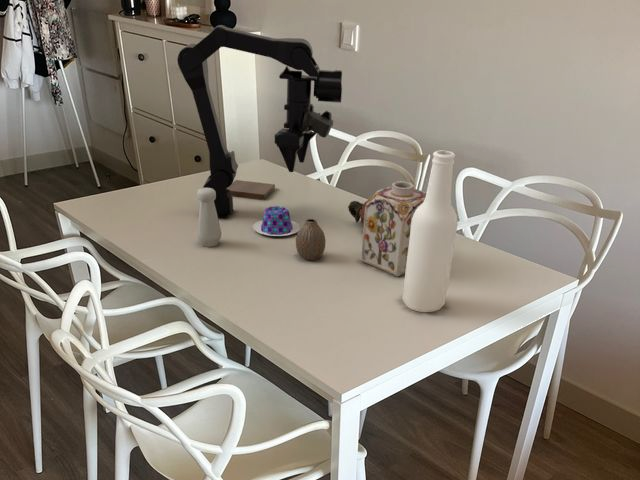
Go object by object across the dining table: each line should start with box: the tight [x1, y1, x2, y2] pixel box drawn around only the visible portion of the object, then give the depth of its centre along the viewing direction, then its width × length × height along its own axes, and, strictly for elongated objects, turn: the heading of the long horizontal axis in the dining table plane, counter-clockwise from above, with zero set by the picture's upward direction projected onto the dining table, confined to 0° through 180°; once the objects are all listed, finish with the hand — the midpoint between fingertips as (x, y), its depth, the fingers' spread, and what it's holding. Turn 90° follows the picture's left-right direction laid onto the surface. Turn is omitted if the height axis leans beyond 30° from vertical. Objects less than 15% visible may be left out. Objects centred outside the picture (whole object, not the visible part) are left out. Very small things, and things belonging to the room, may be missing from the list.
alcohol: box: [401, 149, 459, 313], centre depth 129 cm, size 9×9×30 cm
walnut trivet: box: [226, 179, 276, 201], centre depth 191 cm, size 12×10×2 cm
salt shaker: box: [196, 187, 222, 248], centre depth 156 cm, size 6×6×13 cm
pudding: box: [252, 205, 301, 237], centre depth 167 cm, size 12×12×5 cm
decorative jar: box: [360, 180, 427, 277], centre depth 149 cm, size 12×12×18 cm
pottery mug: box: [347, 199, 370, 223], centre depth 170 cm, size 12×10×8 cm
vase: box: [295, 218, 326, 261], centre depth 153 cm, size 7×7×9 cm
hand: (296, 167), depth 168 cm, fingers open, 9 cm apart
